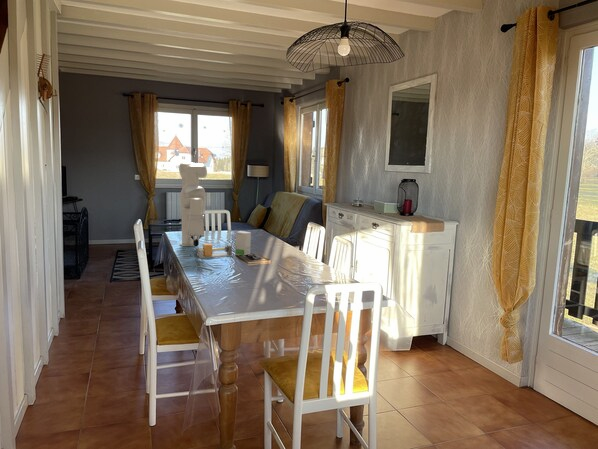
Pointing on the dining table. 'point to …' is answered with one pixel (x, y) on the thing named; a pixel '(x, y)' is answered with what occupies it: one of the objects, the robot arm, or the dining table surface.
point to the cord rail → (226, 249)
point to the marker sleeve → (207, 249)
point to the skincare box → (242, 243)
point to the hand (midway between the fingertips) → (196, 246)
